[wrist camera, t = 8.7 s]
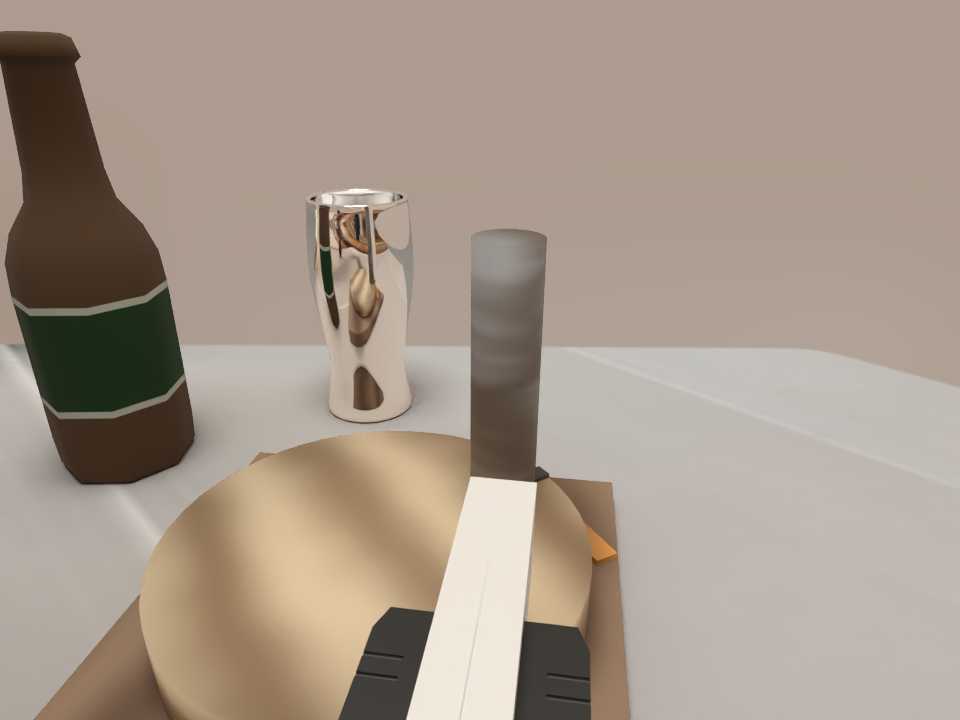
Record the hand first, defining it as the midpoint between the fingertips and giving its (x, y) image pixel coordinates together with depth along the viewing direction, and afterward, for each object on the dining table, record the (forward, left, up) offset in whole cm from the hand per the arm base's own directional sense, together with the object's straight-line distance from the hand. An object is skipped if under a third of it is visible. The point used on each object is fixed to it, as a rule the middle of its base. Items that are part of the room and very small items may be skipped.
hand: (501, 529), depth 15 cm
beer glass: (-13, +29, -13) cm, 34 cm away
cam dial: (-6, +9, -12) cm, 16 cm away
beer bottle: (-26, +20, -13) cm, 35 cm away
